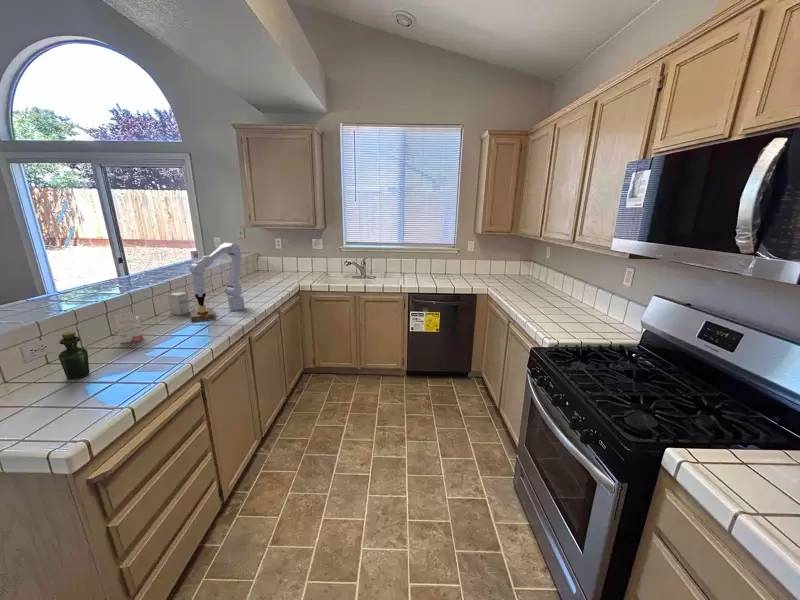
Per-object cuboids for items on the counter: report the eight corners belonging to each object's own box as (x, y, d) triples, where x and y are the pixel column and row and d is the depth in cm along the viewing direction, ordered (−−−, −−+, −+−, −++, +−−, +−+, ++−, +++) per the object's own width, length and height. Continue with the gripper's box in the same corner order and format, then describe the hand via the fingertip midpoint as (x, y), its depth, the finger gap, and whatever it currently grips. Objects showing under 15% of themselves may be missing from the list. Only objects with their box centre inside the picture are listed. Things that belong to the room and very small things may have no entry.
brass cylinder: (206, 316, 206) (205, 304, 204) (207, 318, 203) (205, 305, 201) (199, 317, 204) (197, 304, 202) (199, 319, 201) (197, 306, 199)
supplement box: (180, 314, 207) (177, 295, 203) (170, 313, 208) (167, 294, 205) (189, 311, 214) (187, 292, 210) (180, 310, 215) (177, 291, 212)
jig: (213, 312, 214) (212, 307, 214) (214, 319, 201) (214, 314, 201) (191, 314, 208) (190, 309, 207) (191, 321, 195) (191, 317, 194)
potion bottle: (63, 375, 131) (53, 332, 126) (91, 369, 137) (82, 328, 132) (64, 383, 125) (52, 338, 121) (92, 376, 131) (83, 333, 126)
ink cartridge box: (143, 337, 170) (138, 310, 167) (141, 340, 166) (136, 313, 162) (122, 339, 166) (116, 312, 163) (119, 343, 162) (113, 314, 158)
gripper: (190, 281, 202) (193, 303, 205) (191, 286, 190) (194, 309, 193) (204, 281, 205) (206, 302, 209) (205, 285, 193) (207, 308, 197)
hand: (201, 305), depth 201 cm, fingers closed, pressing on brass cylinder
